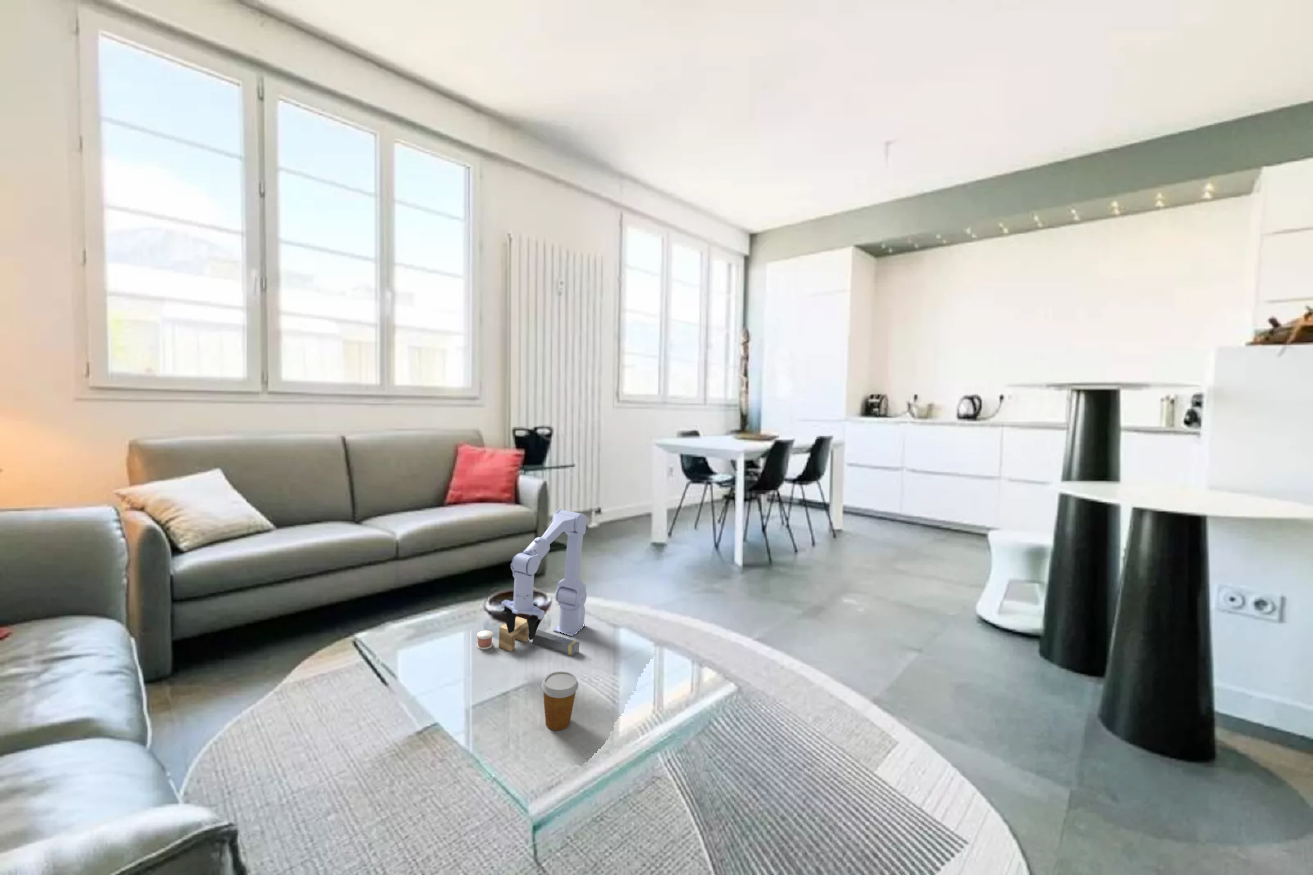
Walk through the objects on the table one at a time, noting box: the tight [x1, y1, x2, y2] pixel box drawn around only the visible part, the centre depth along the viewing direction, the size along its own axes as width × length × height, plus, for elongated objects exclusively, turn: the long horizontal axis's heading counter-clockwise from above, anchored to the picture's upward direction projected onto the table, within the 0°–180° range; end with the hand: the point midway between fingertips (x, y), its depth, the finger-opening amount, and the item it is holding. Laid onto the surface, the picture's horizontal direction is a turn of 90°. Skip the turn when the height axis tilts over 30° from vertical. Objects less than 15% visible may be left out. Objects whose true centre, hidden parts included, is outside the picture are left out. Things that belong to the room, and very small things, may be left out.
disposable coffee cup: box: [540, 670, 579, 731], centre depth 146 cm, size 10×10×12 cm
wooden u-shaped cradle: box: [498, 616, 529, 652], centre depth 185 cm, size 9×5×7 cm, turn 157°
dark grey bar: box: [531, 629, 580, 657], centre depth 185 cm, size 3×16×4 cm, turn 67°
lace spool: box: [476, 630, 494, 650], centre depth 182 cm, size 5×5×4 cm
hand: (521, 635), depth 171 cm, fingers open, 7 cm apart
